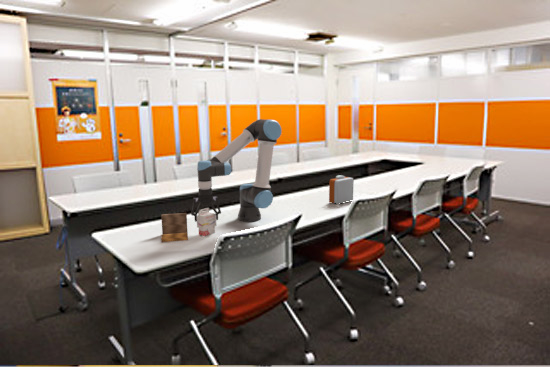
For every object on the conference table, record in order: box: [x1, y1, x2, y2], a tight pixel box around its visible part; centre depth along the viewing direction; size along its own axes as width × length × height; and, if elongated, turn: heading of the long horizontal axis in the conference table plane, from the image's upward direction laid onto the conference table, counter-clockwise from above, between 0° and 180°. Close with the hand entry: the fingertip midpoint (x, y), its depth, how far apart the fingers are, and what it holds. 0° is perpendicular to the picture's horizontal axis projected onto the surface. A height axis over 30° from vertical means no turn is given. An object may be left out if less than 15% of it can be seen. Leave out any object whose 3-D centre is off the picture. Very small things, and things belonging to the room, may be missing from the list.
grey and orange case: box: [328, 174, 355, 205], centre depth 296 cm, size 18×9×21 cm, turn 130°
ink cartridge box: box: [197, 207, 216, 237], centre depth 225 cm, size 9×5×15 cm, turn 141°
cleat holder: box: [160, 212, 189, 243], centre depth 219 cm, size 14×13×12 cm
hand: (206, 226), depth 225 cm, fingers closed on ink cartridge box, 9 cm apart
